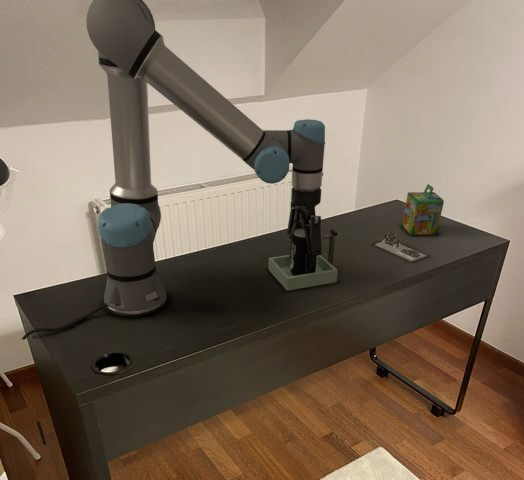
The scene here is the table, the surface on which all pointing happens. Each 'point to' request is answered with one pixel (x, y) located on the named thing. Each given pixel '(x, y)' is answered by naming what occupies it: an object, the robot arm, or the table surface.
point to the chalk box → (422, 212)
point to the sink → (290, 282)
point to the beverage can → (298, 252)
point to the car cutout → (399, 248)
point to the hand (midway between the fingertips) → (302, 268)
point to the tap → (331, 245)
